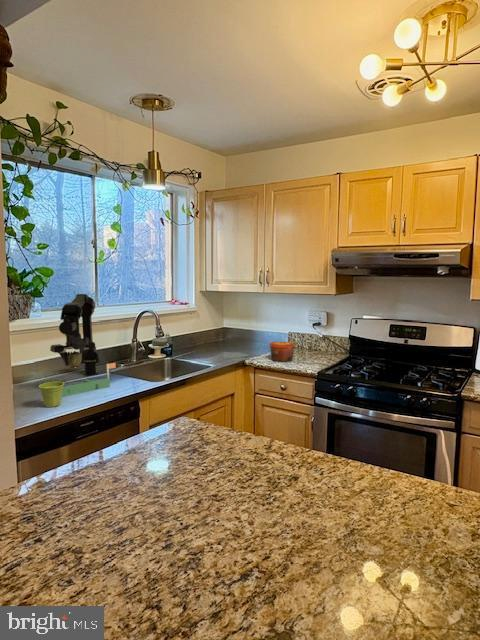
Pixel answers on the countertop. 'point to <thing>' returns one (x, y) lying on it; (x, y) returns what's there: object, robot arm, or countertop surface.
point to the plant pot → (52, 393)
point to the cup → (74, 359)
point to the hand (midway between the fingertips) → (74, 365)
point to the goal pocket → (88, 384)
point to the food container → (282, 351)
